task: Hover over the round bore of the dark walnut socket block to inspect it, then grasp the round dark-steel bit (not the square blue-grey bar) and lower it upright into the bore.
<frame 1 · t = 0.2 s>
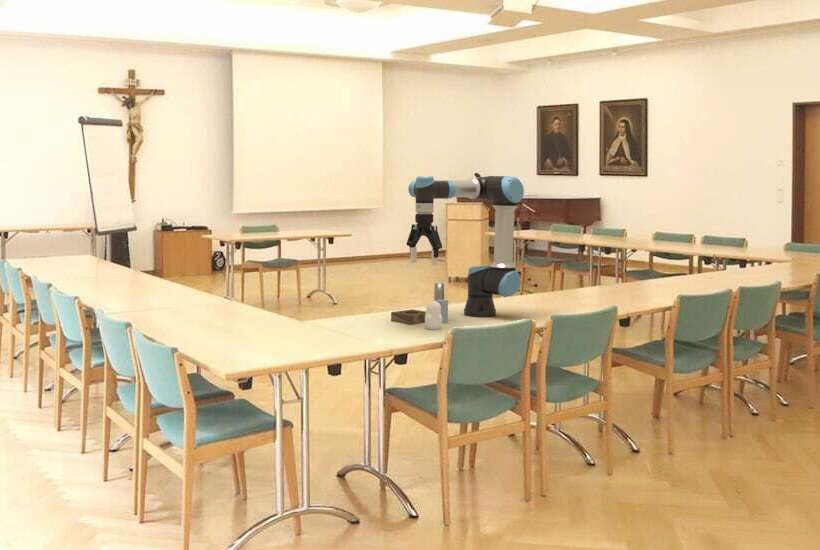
hand: (423, 264, 374), 28 cm above the table, fingers open, 13 cm apart
figurine: (432, 329, 380), on the table
round bit: (438, 318, 407), on the table
square bar: (441, 322, 396), on the table
socket block: (411, 321, 398), on the table
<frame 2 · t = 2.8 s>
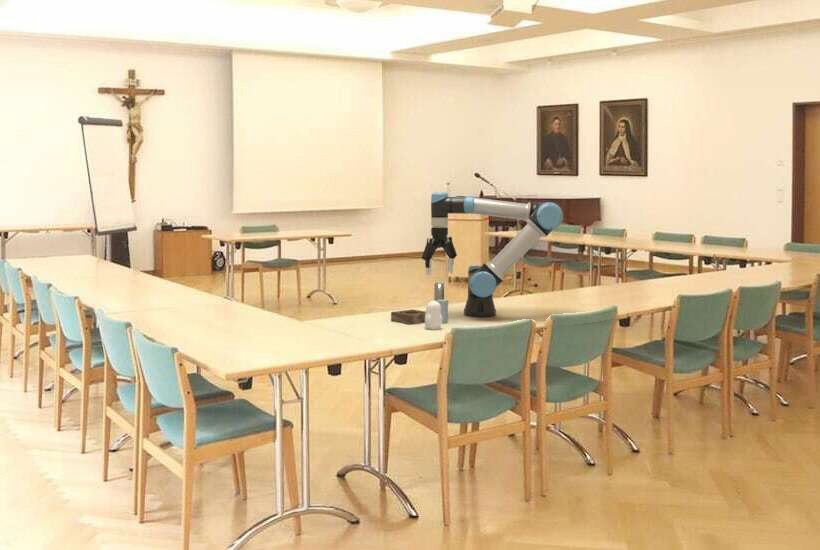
hand: (439, 273, 404), 20 cm above the table, fingers open, 13 cm apart
nothing on the table moved.
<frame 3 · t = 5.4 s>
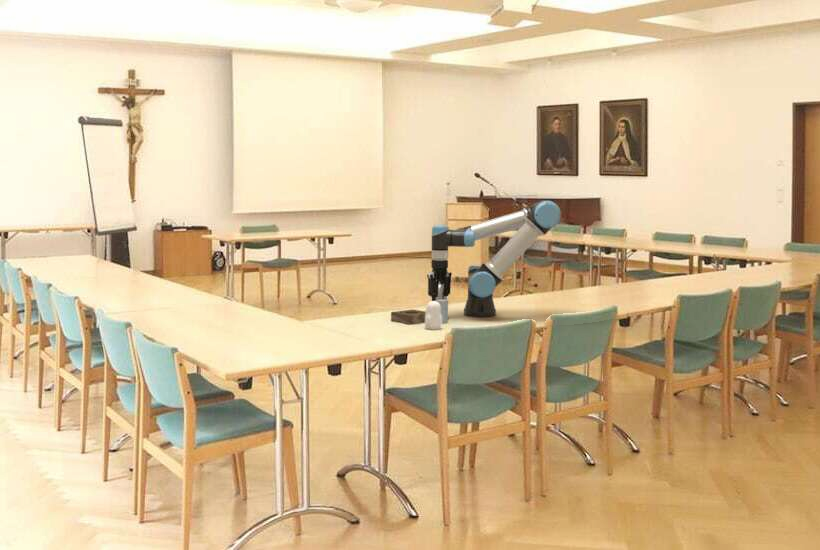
hand: (439, 310, 406), 4 cm above the table, fingers closed on round bit, 4 cm apart
round bit: (438, 318, 407), on the table, touching gripper
everything else where it was.
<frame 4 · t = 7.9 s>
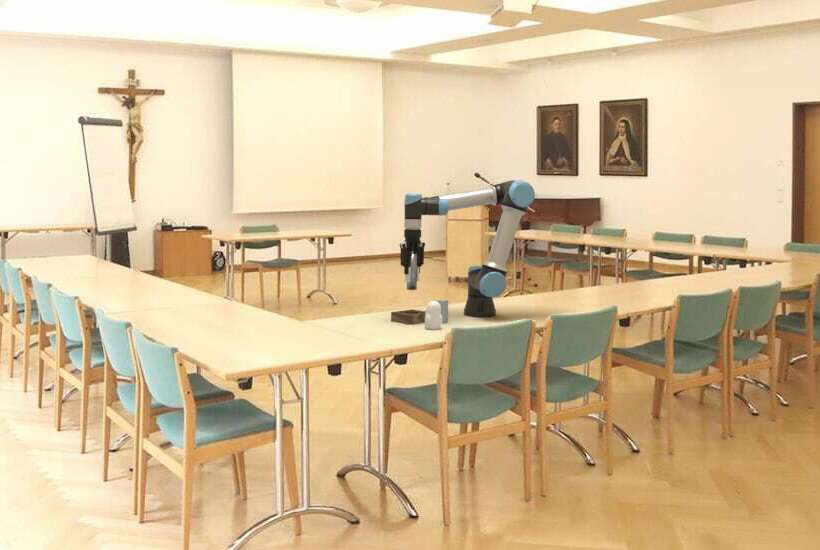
hand: (411, 281, 396), 18 cm above the table, fingers closed on round bit, 4 cm apart
round bit: (411, 289, 397), point 14 cm above the table, touching gripper
everything else where it was.
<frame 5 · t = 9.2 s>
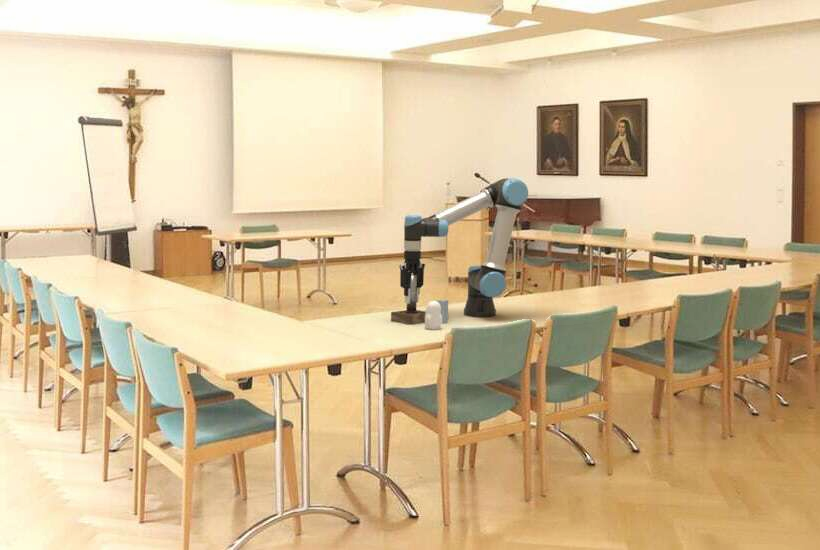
hand: (411, 302, 397), 8 cm above the table, fingers closed on round bit, 4 cm apart
round bit: (411, 310, 398), point 5 cm above the table, touching gripper
everything else where it was.
when the fingers open (6 cm above the table, at t = 10.3 s): round bit drops 2 cm, resting in socket block.
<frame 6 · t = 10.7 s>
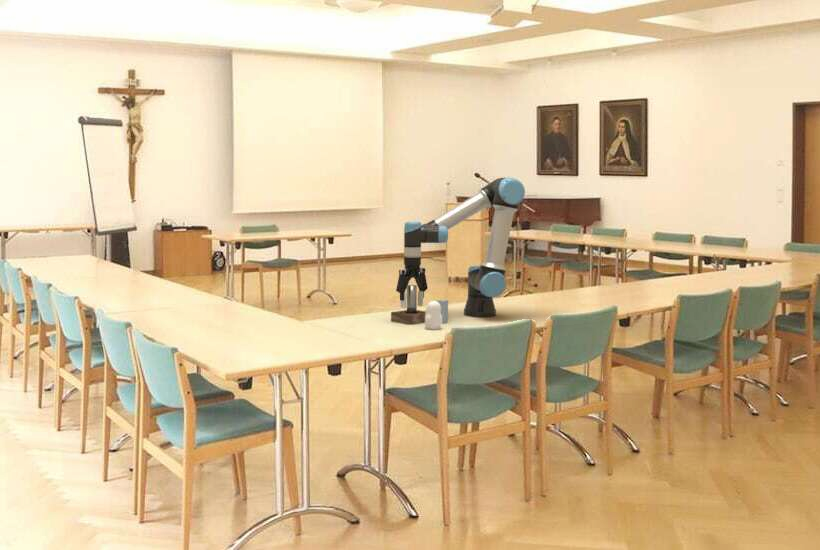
hand: (411, 306, 398), 7 cm above the table, fingers open, 9 cm apart
round bit: (411, 321, 398), resting in socket block
everything else where it was.
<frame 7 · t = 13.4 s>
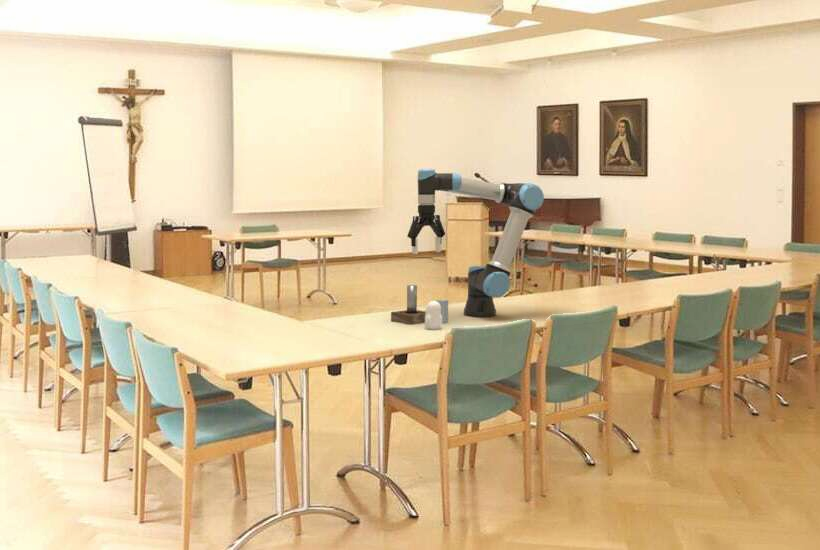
hand: (426, 252, 393), 31 cm above the table, fingers open, 13 cm apart
nothing on the table moved.
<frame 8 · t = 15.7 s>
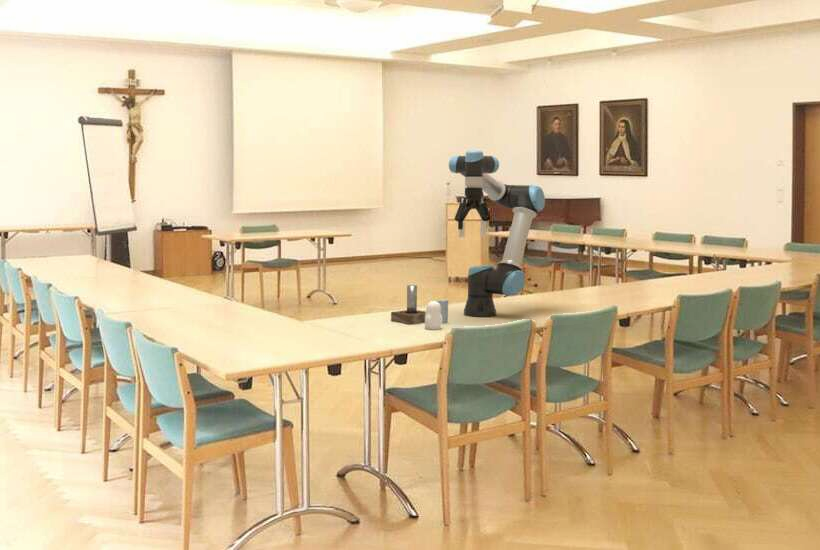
hand: (472, 236, 385), 39 cm above the table, fingers open, 13 cm apart
nothing on the table moved.
at the end: round bit 0.0 cm off-centre on the socket block, point 0.0 cm above the socket block's base; round bit tilted 0°; the gripper is holding nothing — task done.
